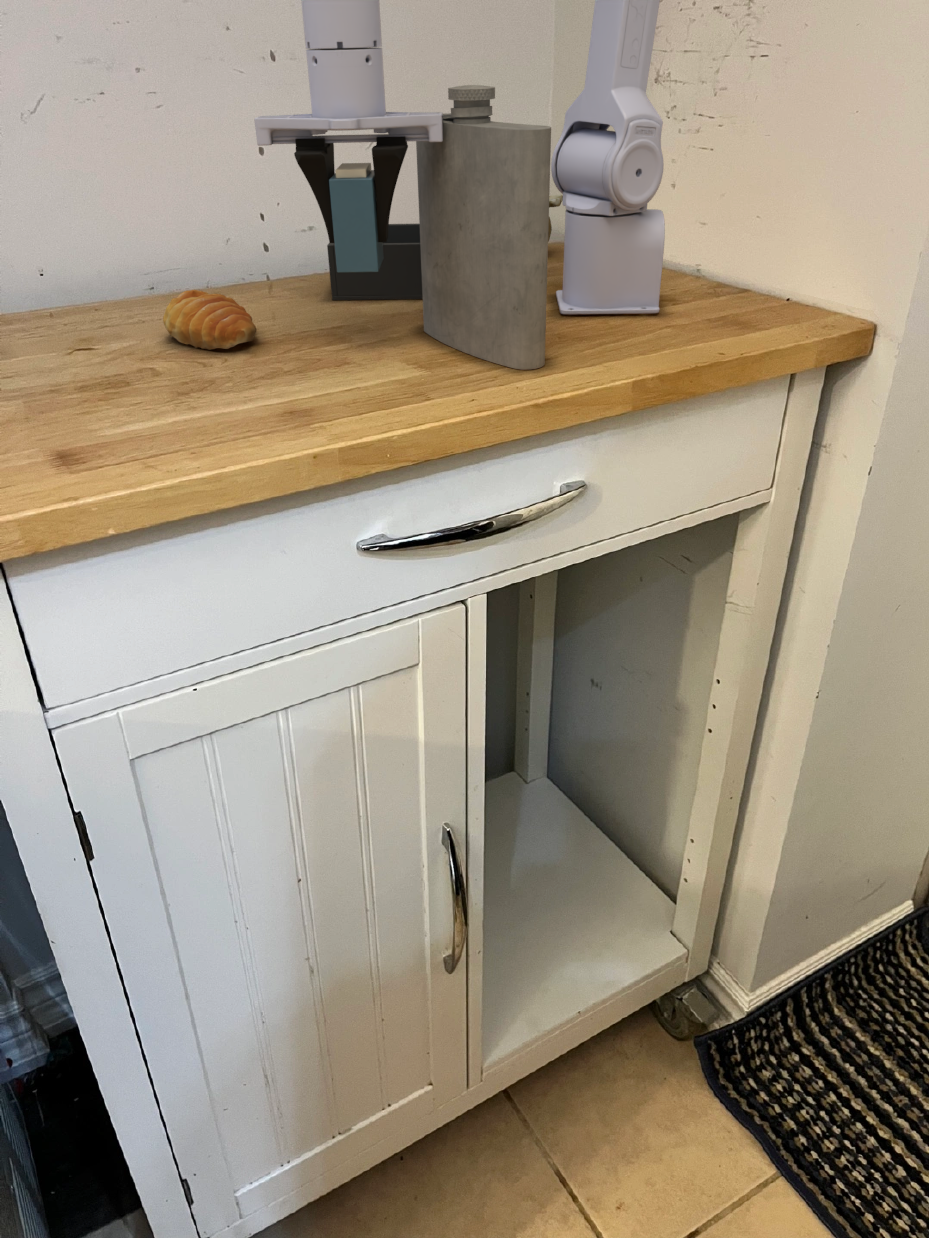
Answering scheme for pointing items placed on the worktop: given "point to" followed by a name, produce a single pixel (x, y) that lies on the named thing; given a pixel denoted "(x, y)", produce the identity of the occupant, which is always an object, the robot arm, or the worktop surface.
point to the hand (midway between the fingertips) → (358, 240)
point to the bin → (384, 270)
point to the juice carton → (355, 218)
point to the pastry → (208, 320)
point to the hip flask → (485, 232)
